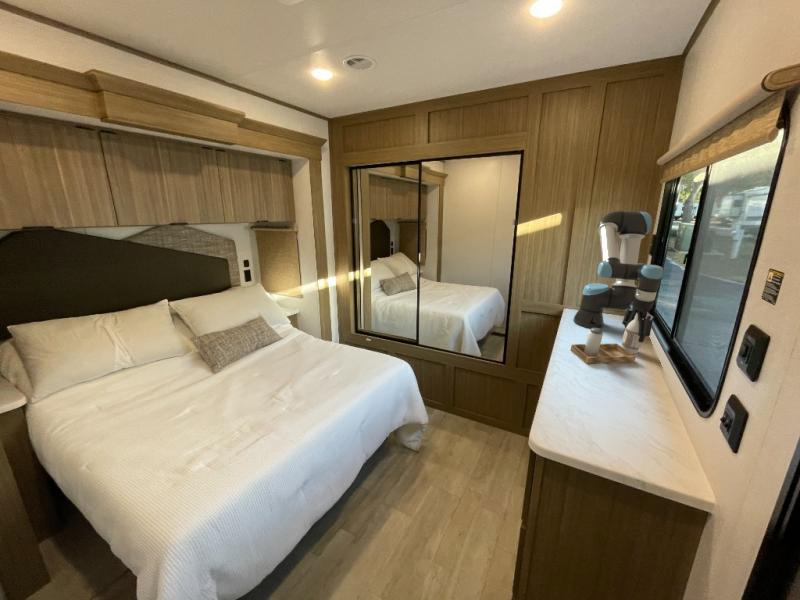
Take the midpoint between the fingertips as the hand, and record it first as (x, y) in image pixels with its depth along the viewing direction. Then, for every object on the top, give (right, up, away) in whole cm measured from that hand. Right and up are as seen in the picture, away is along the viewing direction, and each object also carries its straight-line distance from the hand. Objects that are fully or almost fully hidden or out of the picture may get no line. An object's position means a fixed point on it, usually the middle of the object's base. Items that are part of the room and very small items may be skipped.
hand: (631, 343), depth 157 cm
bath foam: (0, -4, +1) cm, 4 cm away
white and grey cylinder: (-22, -5, -5) cm, 23 cm away
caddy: (-17, -6, -4) cm, 18 cm away
